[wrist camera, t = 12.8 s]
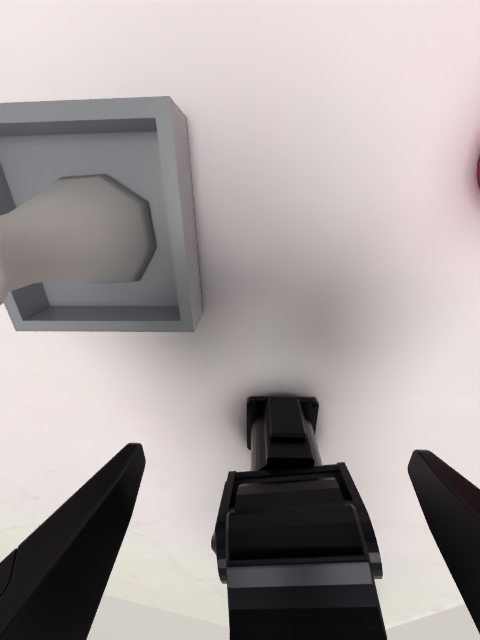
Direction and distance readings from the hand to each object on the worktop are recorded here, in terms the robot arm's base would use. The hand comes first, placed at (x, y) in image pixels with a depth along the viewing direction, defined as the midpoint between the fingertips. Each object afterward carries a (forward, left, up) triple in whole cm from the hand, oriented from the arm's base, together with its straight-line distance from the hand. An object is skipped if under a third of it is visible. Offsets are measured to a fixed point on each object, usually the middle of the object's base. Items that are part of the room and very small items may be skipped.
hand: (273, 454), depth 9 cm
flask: (+6, +11, -12) cm, 17 cm away
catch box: (+6, +11, -13) cm, 18 cm away
